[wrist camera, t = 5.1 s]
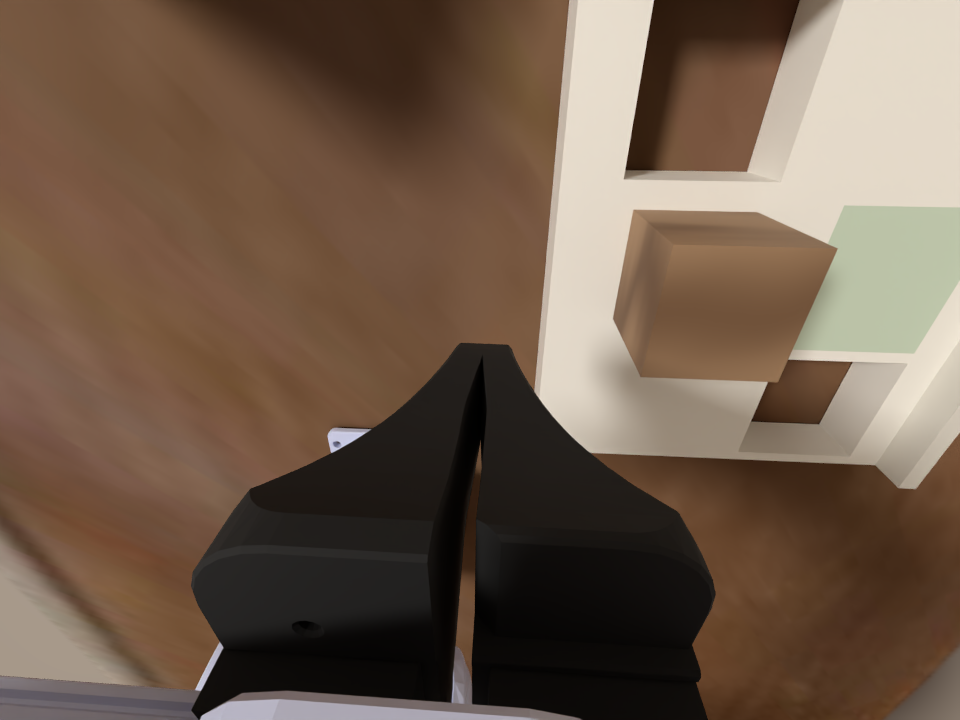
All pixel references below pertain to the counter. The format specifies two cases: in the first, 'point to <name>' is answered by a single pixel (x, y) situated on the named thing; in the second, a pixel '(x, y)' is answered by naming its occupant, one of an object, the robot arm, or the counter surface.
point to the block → (716, 293)
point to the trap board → (789, 200)
